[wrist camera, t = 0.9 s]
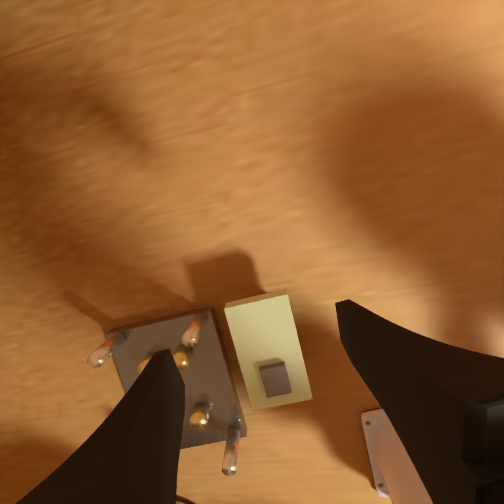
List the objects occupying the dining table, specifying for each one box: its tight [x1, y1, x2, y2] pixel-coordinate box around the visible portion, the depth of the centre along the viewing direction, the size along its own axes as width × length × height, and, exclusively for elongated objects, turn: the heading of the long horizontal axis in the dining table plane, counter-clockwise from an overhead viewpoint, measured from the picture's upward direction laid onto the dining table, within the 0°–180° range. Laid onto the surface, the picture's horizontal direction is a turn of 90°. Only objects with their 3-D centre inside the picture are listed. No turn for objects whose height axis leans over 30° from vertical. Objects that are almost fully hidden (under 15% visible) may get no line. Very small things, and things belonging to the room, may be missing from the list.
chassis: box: [87, 307, 247, 476], centre depth 27 cm, size 13×10×5 cm
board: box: [224, 289, 313, 411], centre depth 24 cm, size 9×5×2 cm, turn 14°
